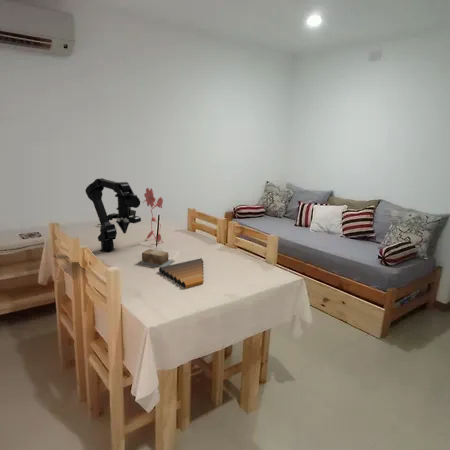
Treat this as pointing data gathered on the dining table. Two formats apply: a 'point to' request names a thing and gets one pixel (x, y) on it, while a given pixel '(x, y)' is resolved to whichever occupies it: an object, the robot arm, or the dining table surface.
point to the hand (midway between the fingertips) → (124, 233)
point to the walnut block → (155, 257)
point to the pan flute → (185, 272)
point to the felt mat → (159, 265)
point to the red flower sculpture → (151, 200)
